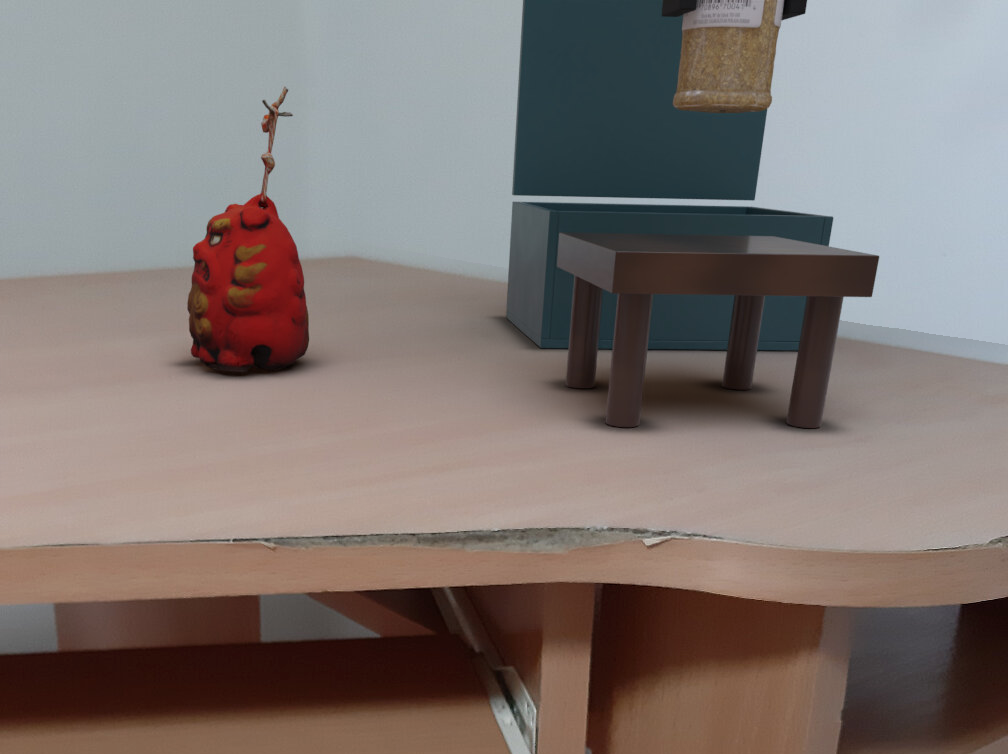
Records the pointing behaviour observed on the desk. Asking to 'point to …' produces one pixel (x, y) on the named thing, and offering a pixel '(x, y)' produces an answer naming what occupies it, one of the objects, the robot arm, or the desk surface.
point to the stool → (707, 271)
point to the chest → (674, 318)
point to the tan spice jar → (728, 56)
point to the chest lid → (620, 110)
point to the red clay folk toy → (249, 283)
